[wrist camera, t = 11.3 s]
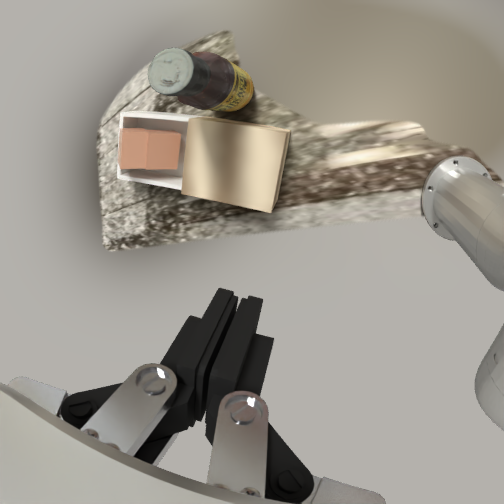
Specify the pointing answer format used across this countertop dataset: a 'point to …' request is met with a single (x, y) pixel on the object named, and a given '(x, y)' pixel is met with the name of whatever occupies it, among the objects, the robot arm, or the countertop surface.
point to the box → (156, 122)
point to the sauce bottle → (200, 80)
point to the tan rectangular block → (234, 162)
